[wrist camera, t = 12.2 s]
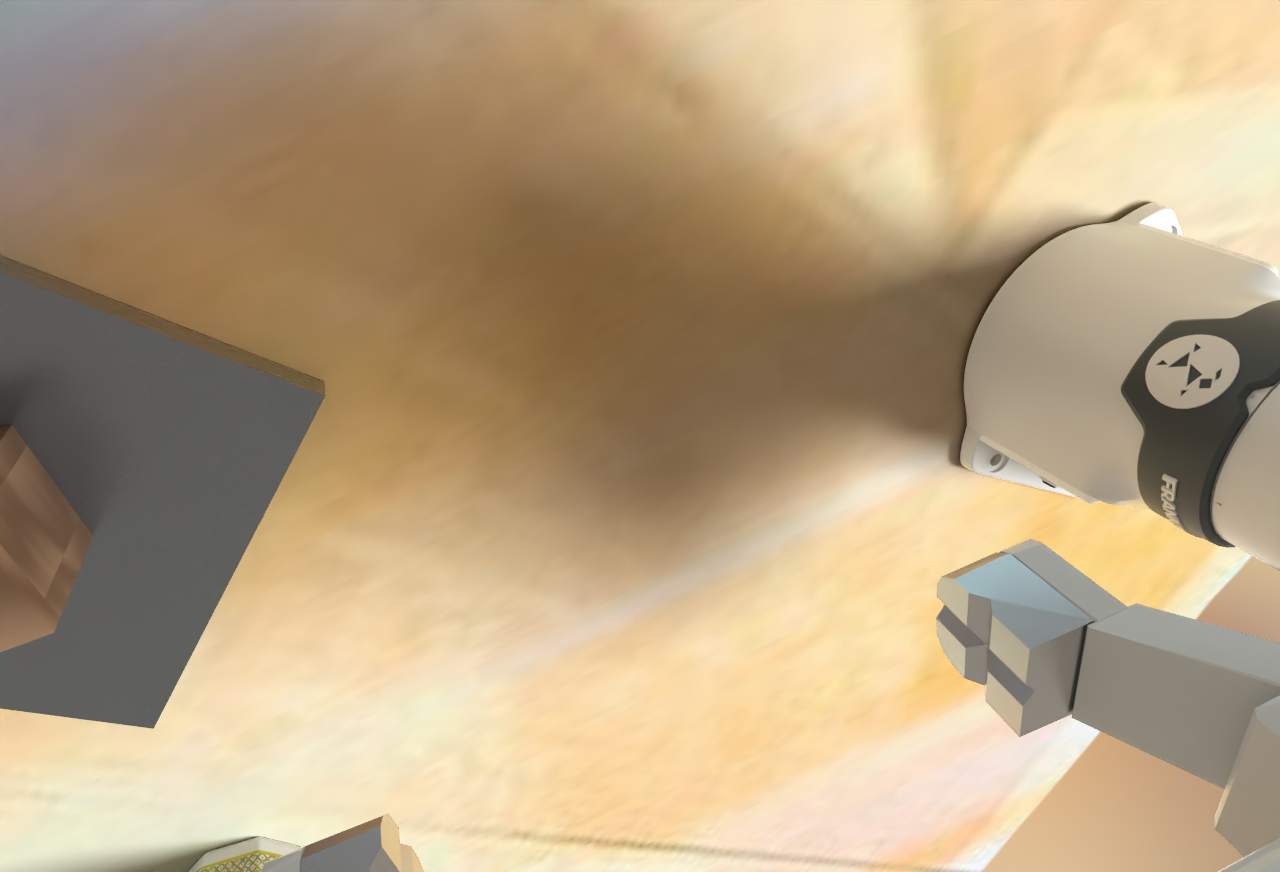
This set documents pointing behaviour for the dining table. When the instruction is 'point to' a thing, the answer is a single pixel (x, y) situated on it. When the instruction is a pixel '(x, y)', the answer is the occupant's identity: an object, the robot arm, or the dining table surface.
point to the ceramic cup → (243, 856)
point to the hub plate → (137, 484)
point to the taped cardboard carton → (34, 545)
